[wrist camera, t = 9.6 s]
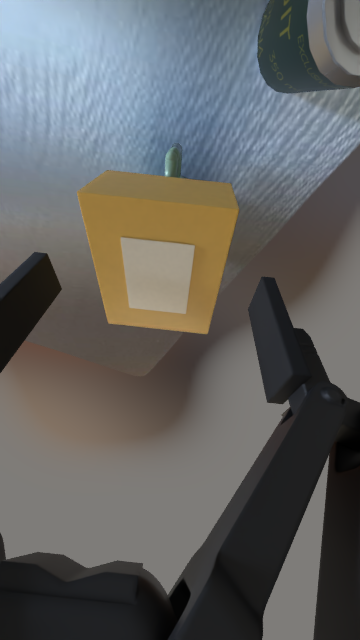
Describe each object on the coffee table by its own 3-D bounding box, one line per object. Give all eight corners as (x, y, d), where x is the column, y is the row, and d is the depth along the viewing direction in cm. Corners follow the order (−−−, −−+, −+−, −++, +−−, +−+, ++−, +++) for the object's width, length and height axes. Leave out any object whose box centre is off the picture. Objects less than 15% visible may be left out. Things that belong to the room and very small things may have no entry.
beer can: (364, -15, 13) (649, -221, 5) (304, 105, 17) (403, 110, 9) (285, -58, 12) (458, -393, 4) (241, 77, 16) (282, 53, 8)
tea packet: (106, 169, 15) (75, 192, 11) (231, 183, 15) (239, 210, 11) (123, 287, 22) (107, 324, 18) (206, 296, 22) (207, 335, 18)
